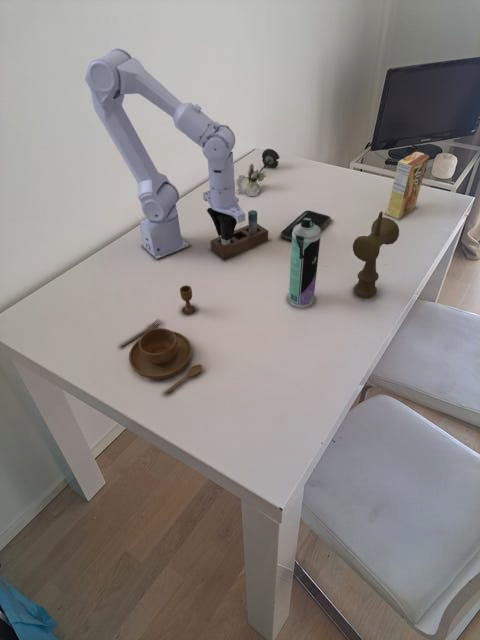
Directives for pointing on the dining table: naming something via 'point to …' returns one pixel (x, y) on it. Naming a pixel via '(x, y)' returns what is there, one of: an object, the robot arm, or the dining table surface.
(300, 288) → the spray can
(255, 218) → the teal marker
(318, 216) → the phone
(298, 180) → the dining table surface
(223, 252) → the marker stand
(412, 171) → the candy box
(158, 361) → the place setting
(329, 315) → the dining table surface
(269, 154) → the artificial flower
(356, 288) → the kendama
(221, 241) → the black marker
